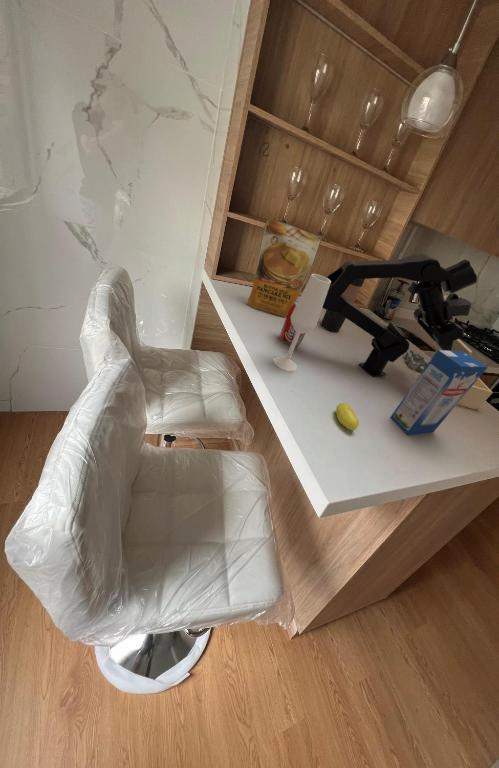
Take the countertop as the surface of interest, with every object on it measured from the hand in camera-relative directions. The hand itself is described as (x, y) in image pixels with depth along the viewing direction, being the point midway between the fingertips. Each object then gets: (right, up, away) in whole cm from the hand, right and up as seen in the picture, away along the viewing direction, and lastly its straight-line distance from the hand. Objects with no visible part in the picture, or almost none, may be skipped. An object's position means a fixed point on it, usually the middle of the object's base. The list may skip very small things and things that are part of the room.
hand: (442, 347), depth 96 cm
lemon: (-35, -20, -21) cm, 45 cm away
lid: (+5, -3, +1) cm, 6 cm away
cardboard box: (+9, -14, +9) cm, 19 cm away
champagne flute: (-47, -6, -7) cm, 48 cm away
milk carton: (-16, -21, -14) cm, 30 cm away
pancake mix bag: (-50, +16, +22) cm, 56 cm away
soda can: (-44, +2, +5) cm, 44 cm away
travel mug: (-27, +10, +25) cm, 38 cm away
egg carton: (+2, -4, +20) cm, 21 cm away
